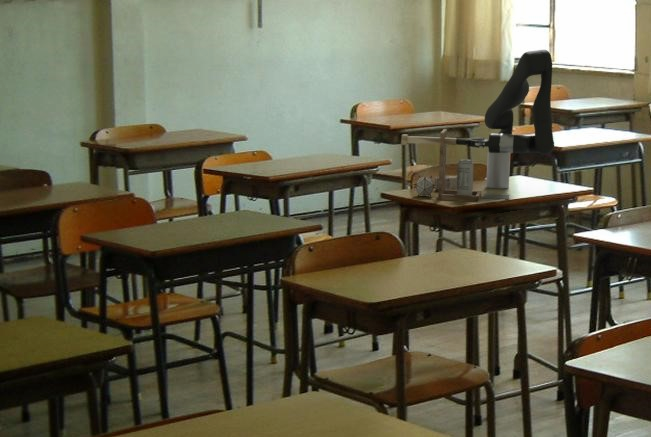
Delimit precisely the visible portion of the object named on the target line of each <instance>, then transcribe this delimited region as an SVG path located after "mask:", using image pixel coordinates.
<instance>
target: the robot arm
mask: <svg viewBox="0 0 651 437" xmlns="http://www.w3.org/2000/svg"><path fill="white" fill-rule="evenodd" d="M519 58H520V59H519V60H518V62H517V65H516V67H515V70H513V72H512V75H511V76H510V78H509V79H508V81H507V82H506V83H505V86H504V87H503V88H502V91H501V92H500V93H499V95H498V96H497V98H496V99H495V100H494V101H493V102H492V103H491V104H490V106H489V107H488V108H487V109H486V111H485V115H484V124H485V126H486V127H487V128H488V129H489V130H490V129H491V130H500V131H499V133H497V132H495V133H494V132H493V133H492V132H490V133H489V134H488V135H489V136H488V138H485V137H484V136H480V137H476V136H475V137H468V138H457V139H456V146H457V145H458V146H459V145H460V146H467V147H471V148H478V149H484V148H486V147H487V161H486V162H487V164H486V165H487V166H486V182H485V183H486V184H485V185H486V188H490V189H509V187H510V172H511V170H510V168H511V167H510V166H511V154H527V153H531V154H532V153H534V154H539V155H541V156H547V155H550V154H551V153H552V152H553V151H554V149H555V141H554V136H553V133H554V132H553V119H552V117H553V116H552V108H551V107H552V106H551V103H552V101H551V100H552V99H551V96H552V82H553V79H552V78H553V59H552V55H551V53H550V51H549V50H548V49H539V50H529V51H525V52H524V53H523V54H522V55H521V56H520V57H519ZM532 76H540V86H539V89H538V91H537V94H536V96H535V99H534V102H533V105H532V121H533V127H534V135H523V134H513V128H514V111H513V110H514V108H516V107H518V106H520V105H521V104H522V103H523V102H524V100H525V99H526V97H527V96H528V95H529V92H530V85H529V82H528V80H527V79H529V78H530V77H532Z"/></svg>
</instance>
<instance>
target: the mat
mask: <svg viewBox="0 0 651 437" xmlns="http://www.w3.org/2000/svg"><path fill="white" fill-rule="evenodd" d="M509 196H510V194H500V193H498V194H497V193H484V194H483V196H482V200H485V199H486V200H500V199H505V200H504V201H509V200H510V197H509Z"/></svg>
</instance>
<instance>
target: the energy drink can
mask: <svg viewBox="0 0 651 437" xmlns="http://www.w3.org/2000/svg"><path fill="white" fill-rule="evenodd" d="M458 161H459V162H458V163H457V174H456V175H457V195H469V196H472V191H473V184H474V182H473V181H474V163H473V159H468V158H462V159H459V160H458Z"/></svg>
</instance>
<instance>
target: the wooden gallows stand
mask: <svg viewBox="0 0 651 437" xmlns="http://www.w3.org/2000/svg"><path fill="white" fill-rule="evenodd" d="M447 136H448V128H443V130H442V131H440V144H439V163H438V164H439V166H438V167H439V168H438V176H439V191H438V190H437V191H438V196H437V199H438V200H439V201H440V200H441V201H454V202H455V201H458V202H461V201H463V202H476V201H480V200H479V199H481V196H482V191H481V190H472V196H469V195H457V190H445V175H446V172H447V171H446V169H447V168H446V166H447V164H446V163H447V145H444V140H445V138H448V137H447Z"/></svg>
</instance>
